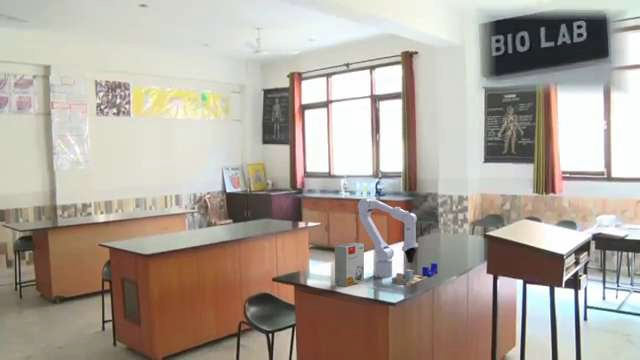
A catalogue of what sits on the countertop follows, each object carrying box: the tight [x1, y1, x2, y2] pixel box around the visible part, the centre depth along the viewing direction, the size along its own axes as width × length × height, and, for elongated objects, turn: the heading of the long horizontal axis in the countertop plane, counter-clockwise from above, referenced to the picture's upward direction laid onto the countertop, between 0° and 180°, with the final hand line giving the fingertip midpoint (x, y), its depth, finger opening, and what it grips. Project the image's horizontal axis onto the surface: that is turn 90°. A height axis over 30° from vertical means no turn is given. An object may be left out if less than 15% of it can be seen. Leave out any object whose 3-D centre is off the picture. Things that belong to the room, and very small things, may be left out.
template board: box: [390, 269, 428, 287], centre depth 257 cm, size 22×10×6 cm, turn 141°
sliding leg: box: [404, 268, 414, 282], centre depth 256 cm, size 3×5×5 cm, turn 51°
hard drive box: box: [334, 242, 365, 288], centre depth 256 cm, size 16×8×20 cm, turn 138°
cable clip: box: [421, 262, 438, 278], centre depth 268 cm, size 12×4×6 cm, turn 142°
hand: (410, 262), depth 259 cm, fingers closed
